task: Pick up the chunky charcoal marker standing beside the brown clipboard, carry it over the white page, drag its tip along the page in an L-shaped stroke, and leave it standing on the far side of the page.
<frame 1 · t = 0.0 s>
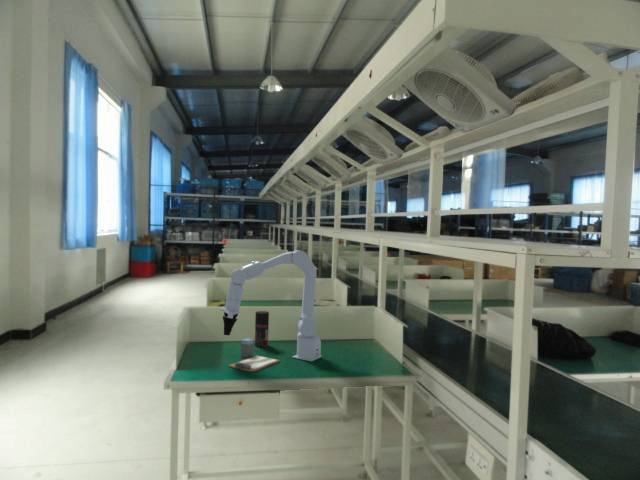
hand: (227, 332, 163), 11 cm above the workbench, tool pointing down, fingers open, 7 cm apart
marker: (246, 356, 167), on the workbench
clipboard: (254, 364, 157), on the workbench
deodorant: (261, 345, 185), on the workbench
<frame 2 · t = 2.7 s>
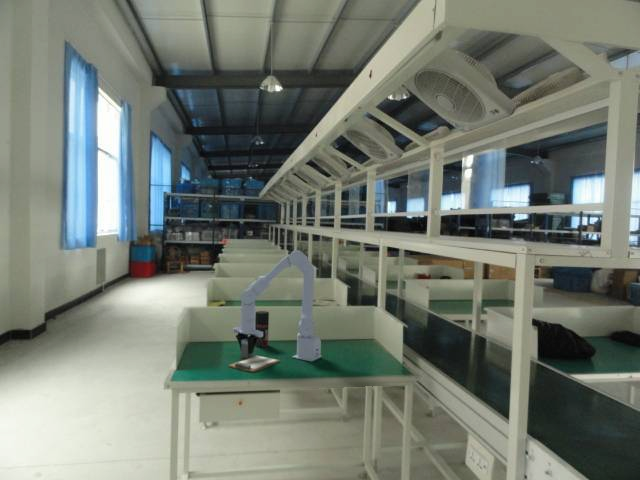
hand: (247, 352, 167), 2 cm above the workbench, tool pointing down, fingers closed on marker, 3 cm apart
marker: (246, 356, 167), on the workbench, touching gripper
everything else where it was.
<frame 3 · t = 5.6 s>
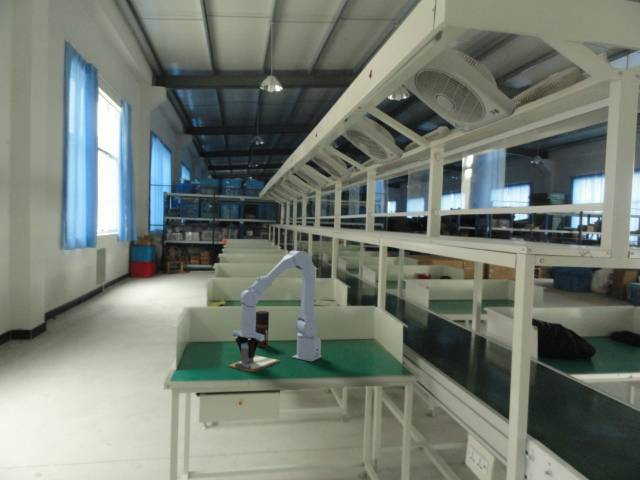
hand: (247, 356, 158), 3 cm above the workbench, tool pointing down, fingers closed on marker, 3 cm apart
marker: (247, 361, 158), point 1 cm above the workbench, touching gripper
everything else where it was.
when the fingers open (3 cm above the workbench, at t = 8.7 s): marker stays where it is, resting on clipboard.
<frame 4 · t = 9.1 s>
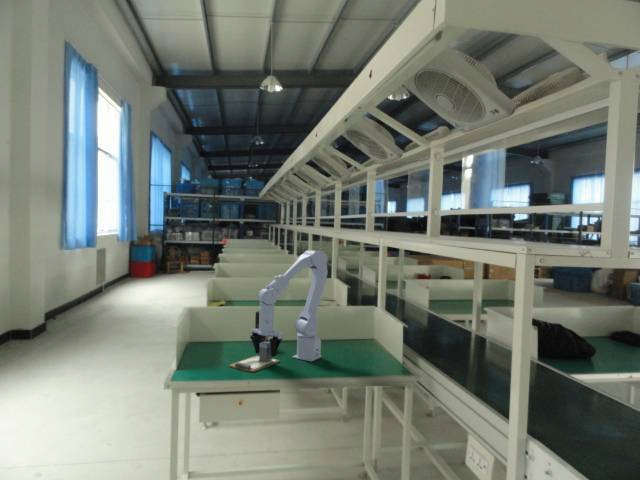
hand: (265, 354, 160), 3 cm above the workbench, tool pointing down, fingers open, 7 cm apart
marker: (265, 360, 160), point 1 cm above the workbench, touching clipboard
everything else where it was.
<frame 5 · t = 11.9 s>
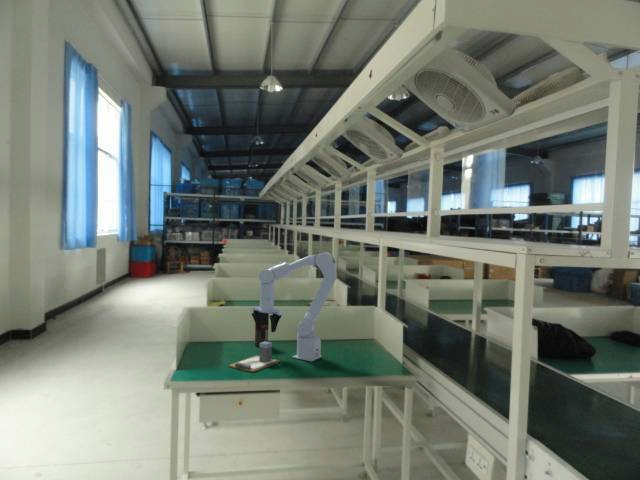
hand: (266, 330, 171), 10 cm above the workbench, tool pointing down, fingers open, 7 cm apart
nothing on the workbench moved.
at the end: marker inside the target area on the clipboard (4.4 cm from its centre), point 0.7 cm above the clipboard's base; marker touching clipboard; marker moved 11.2 cm from its start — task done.
